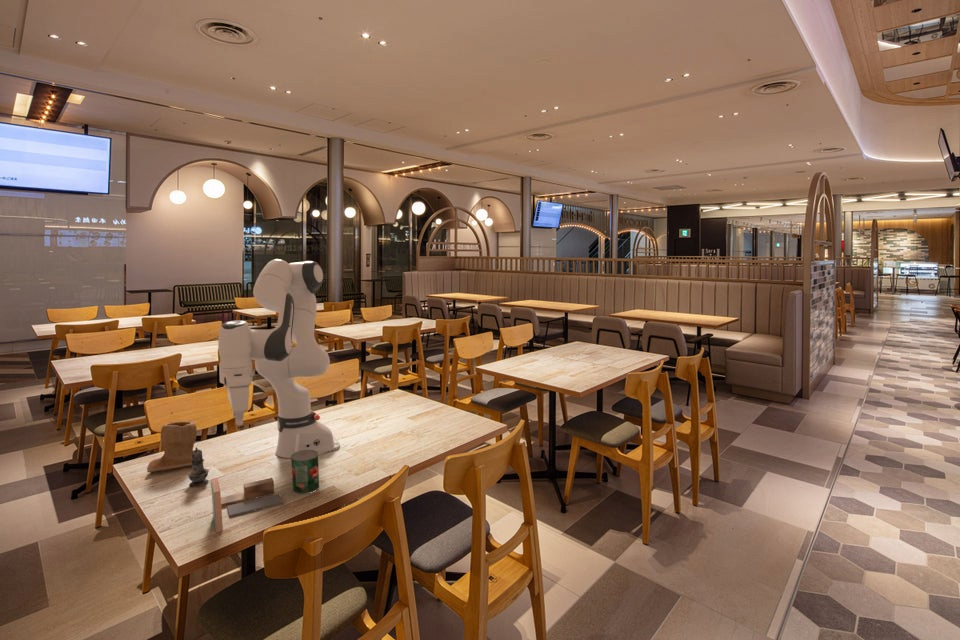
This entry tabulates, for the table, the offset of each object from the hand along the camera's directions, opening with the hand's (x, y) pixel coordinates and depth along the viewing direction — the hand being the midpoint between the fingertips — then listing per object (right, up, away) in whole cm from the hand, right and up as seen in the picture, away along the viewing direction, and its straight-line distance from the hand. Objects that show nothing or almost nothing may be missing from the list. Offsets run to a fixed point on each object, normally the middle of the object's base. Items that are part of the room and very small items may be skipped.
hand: (237, 420), depth 147 cm
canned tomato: (+19, -22, +5) cm, 30 cm away
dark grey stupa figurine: (-16, -22, +8) cm, 28 cm away
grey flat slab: (+8, -24, -6) cm, 26 cm away
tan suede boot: (-31, -20, +20) cm, 42 cm away
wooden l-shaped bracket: (+4, -23, -1) cm, 23 cm away
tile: (+2, -25, -15) cm, 29 cm away
